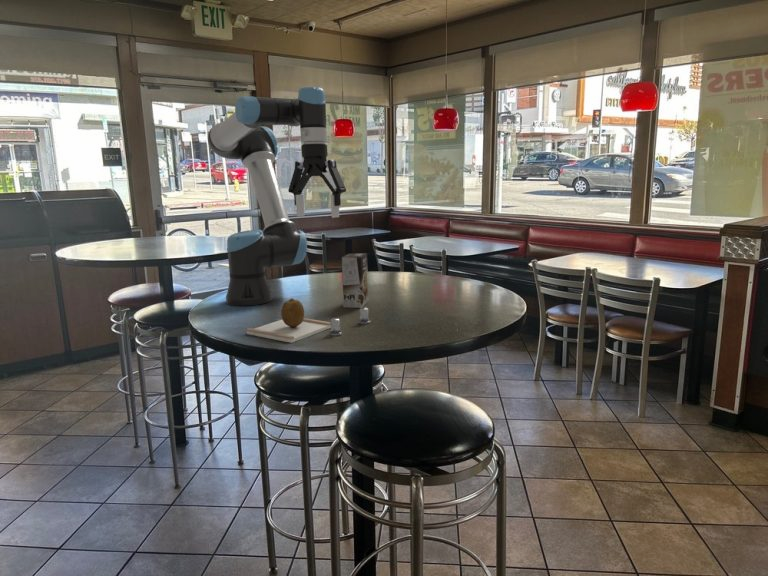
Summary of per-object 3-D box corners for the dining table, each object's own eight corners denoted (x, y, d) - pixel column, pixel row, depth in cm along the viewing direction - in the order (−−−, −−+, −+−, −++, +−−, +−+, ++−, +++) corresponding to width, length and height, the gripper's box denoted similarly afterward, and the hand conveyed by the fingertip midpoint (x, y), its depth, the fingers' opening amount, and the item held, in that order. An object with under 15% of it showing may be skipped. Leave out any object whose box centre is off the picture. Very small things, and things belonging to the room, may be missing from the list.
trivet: (246, 333, 147) (246, 328, 147) (288, 320, 160) (288, 315, 160) (291, 342, 139) (291, 337, 138) (331, 327, 152) (331, 322, 151)
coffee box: (362, 308, 172) (361, 257, 169) (342, 307, 174) (340, 256, 170) (369, 301, 181) (367, 252, 178) (350, 301, 183) (348, 252, 179)
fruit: (307, 324, 153) (305, 295, 151) (302, 330, 146) (300, 301, 145) (285, 324, 153) (283, 296, 151) (279, 330, 147) (277, 301, 145)
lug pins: (326, 334, 145) (325, 320, 144) (363, 320, 158) (362, 306, 158) (336, 336, 143) (336, 321, 142) (373, 321, 156) (372, 308, 156)
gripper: (273, 145, 165) (278, 216, 169) (339, 140, 151) (343, 218, 156) (291, 145, 171) (295, 214, 175) (356, 141, 157) (358, 216, 162)
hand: (317, 216), depth 165 cm, fingers open, 13 cm apart
